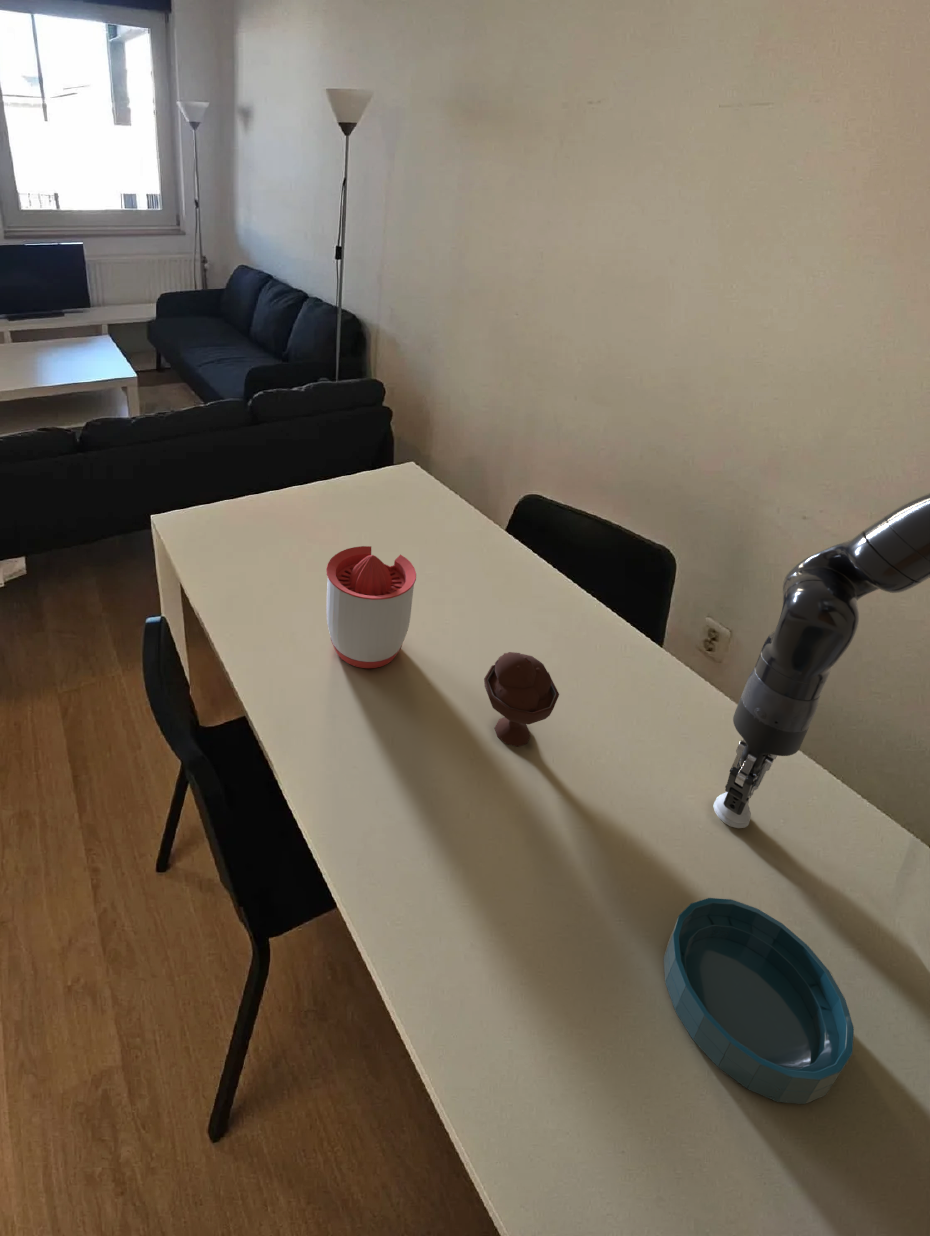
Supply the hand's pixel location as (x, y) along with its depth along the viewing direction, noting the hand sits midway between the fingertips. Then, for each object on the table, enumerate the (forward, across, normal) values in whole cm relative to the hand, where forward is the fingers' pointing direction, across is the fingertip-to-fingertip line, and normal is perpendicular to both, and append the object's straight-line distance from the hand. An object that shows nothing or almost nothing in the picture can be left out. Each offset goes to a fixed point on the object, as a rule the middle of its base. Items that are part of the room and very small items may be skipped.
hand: (737, 800), depth 90 cm
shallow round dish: (+3, -23, -9) cm, 25 cm away
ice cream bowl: (+3, -11, +28) cm, 31 cm away
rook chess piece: (+3, 0, 0) cm, 3 cm away
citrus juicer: (+3, -15, +57) cm, 59 cm away
